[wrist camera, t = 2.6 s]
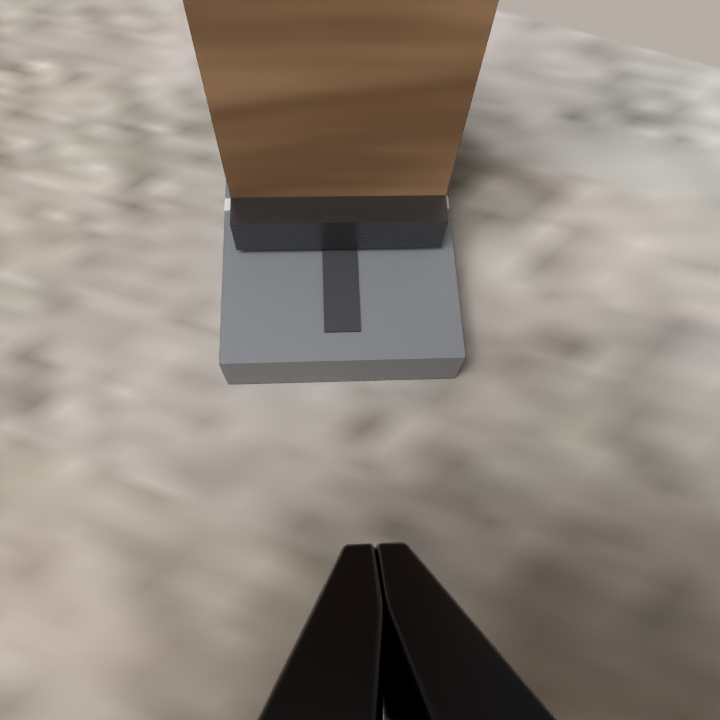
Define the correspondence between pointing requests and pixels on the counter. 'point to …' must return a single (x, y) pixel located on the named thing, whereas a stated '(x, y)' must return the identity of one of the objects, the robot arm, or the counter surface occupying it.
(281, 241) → the slide lever
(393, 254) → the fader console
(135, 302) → the counter surface
